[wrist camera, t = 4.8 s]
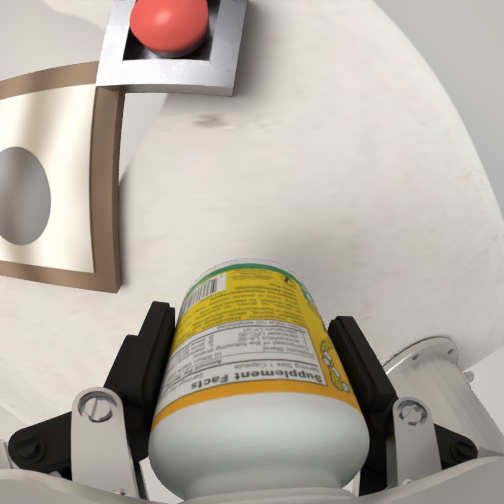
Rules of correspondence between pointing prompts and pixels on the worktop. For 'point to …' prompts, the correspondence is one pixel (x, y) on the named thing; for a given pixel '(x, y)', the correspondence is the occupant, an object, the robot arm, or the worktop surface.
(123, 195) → the worktop surface
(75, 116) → the brown bordered square board
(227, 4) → the button housing
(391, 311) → the worktop surface
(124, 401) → the robot arm
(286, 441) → the supplement bottle
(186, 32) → the button
